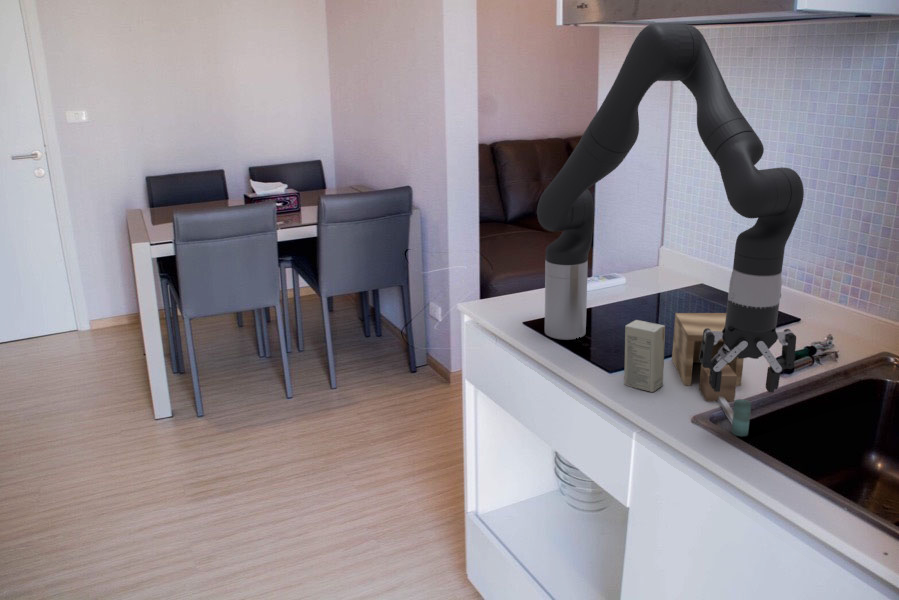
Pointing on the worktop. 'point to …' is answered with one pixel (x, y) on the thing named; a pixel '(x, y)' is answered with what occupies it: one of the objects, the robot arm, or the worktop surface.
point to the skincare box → (644, 355)
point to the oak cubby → (697, 342)
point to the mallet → (727, 399)
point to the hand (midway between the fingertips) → (742, 390)
